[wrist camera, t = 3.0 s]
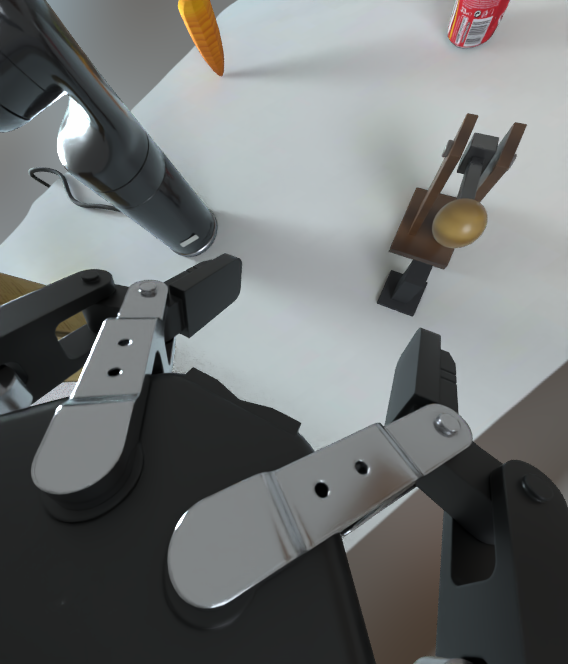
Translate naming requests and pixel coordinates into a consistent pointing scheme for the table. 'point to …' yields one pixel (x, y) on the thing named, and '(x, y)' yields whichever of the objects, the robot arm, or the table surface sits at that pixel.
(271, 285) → the table surface
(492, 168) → the brown wooden upright frame
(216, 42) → the carrot
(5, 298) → the food packaging
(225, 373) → the table surface
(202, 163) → the table surface
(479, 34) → the soda can
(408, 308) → the stop post
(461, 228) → the lever with ball knob
